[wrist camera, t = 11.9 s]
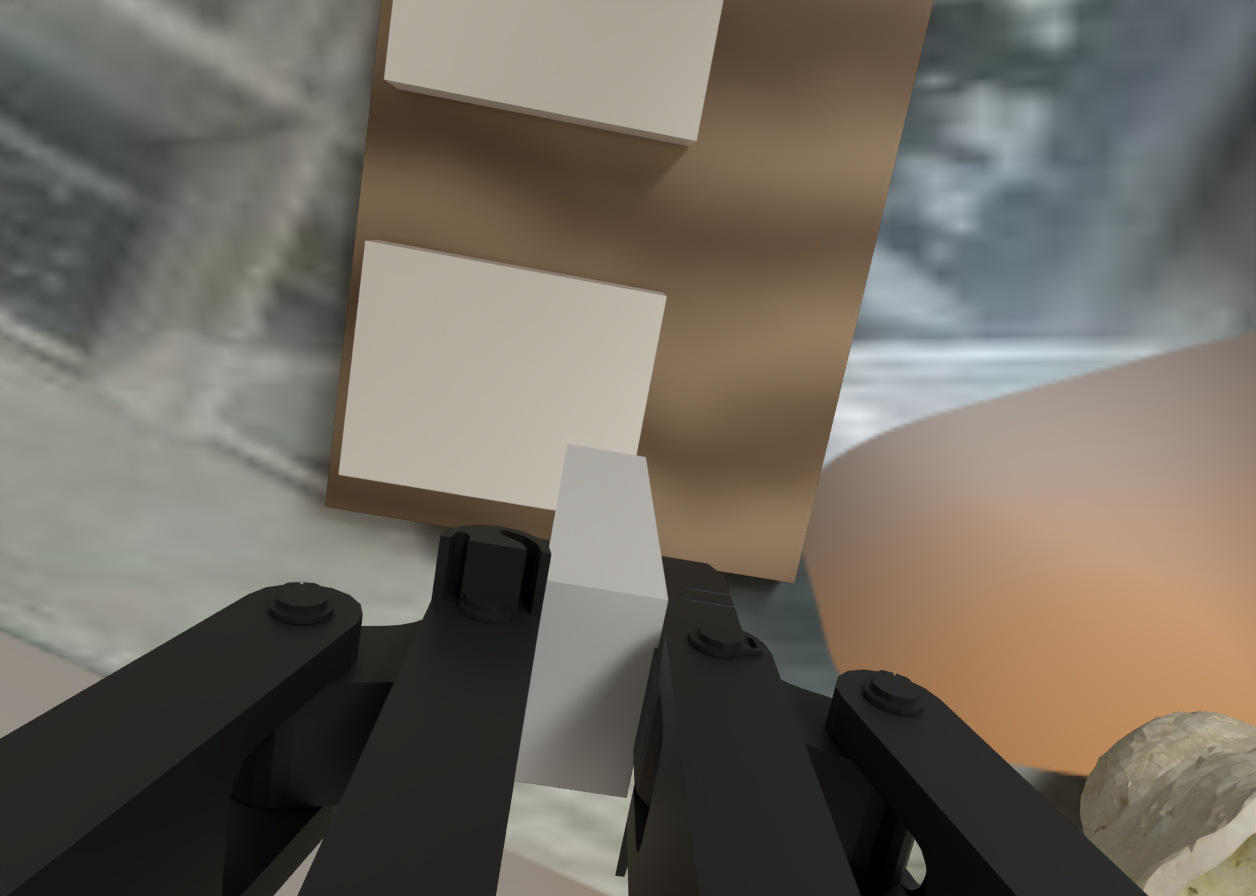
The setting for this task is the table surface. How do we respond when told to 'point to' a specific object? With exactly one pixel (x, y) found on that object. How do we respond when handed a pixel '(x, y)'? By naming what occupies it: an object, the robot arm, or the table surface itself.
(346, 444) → the tile
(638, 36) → the tile
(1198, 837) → the bowl
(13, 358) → the table surface
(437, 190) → the board
